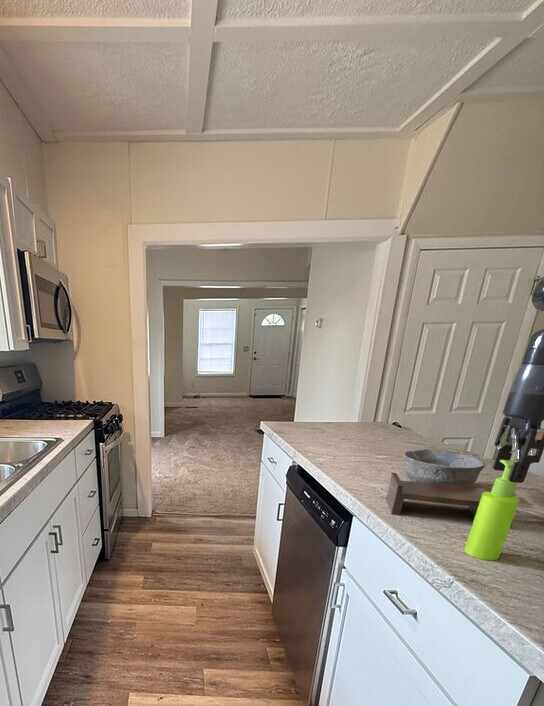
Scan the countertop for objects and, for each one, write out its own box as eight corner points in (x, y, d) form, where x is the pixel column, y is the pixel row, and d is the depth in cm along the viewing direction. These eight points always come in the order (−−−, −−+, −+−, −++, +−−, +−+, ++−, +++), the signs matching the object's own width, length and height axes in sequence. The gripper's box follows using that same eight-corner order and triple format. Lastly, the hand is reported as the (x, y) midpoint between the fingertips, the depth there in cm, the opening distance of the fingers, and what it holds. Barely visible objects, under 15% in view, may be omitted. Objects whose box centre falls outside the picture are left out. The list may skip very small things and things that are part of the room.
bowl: (479, 506, 110) (490, 471, 107) (394, 493, 120) (402, 460, 117) (472, 485, 127) (482, 454, 123) (398, 475, 137) (405, 446, 133)
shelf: (476, 509, 108) (486, 481, 105) (492, 526, 98) (502, 495, 95) (385, 499, 116) (391, 472, 113) (391, 514, 106) (398, 485, 102)
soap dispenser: (492, 548, 88) (524, 459, 80) (502, 562, 82) (537, 468, 74) (460, 543, 90) (488, 456, 82) (467, 557, 84) (498, 465, 76)
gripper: (584, 395, 66) (547, 489, 72) (544, 387, 78) (515, 468, 84) (527, 393, 68) (496, 484, 74) (497, 386, 80) (473, 464, 87)
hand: (506, 475), depth 79 cm, fingers open, 8 cm apart
